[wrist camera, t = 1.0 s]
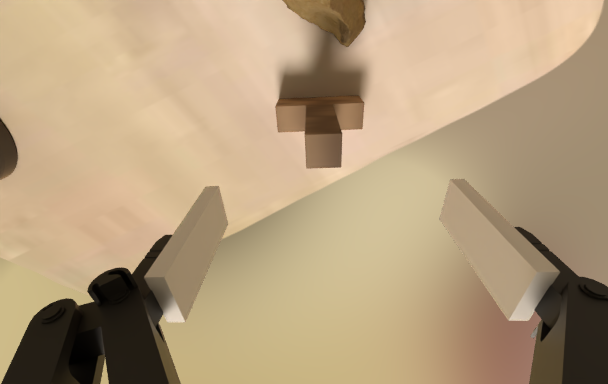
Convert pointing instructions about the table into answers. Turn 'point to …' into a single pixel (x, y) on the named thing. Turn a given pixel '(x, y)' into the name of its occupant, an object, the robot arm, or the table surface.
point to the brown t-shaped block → (321, 125)
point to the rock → (333, 16)
